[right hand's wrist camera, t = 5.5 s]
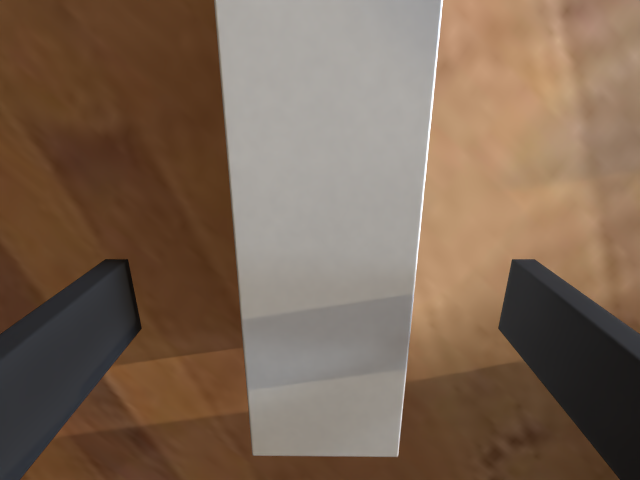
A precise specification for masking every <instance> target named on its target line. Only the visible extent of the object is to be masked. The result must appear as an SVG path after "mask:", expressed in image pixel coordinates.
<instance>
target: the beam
mask: <svg viewBox="0 0 640 480" xmlns="http://www.w3.org/2000/svg"><path fill="white" fill-rule="evenodd" d="M442 4H443V0H214V5H215V17H216V29H217V41H218V53H219V65H220V76H221V88H222V100H223V112H224V124H225V135H226V147H227V159H228V171H229V183H230V195H231V206H232V218H233V230H234V242H235V254H236V266H237V277H238V289H239V301H240V313H241V325H242V337H243V348H244V360H245V372H246V384H247V396H248V407H249V419H250V431H251V443H252V454H253V455H254V456H351V457H398V452H399V442H400V431H401V421H402V411H403V401H404V391H405V381H406V370H407V360H408V350H409V340H410V330H411V319H412V309H413V299H414V289H415V279H416V268H417V258H418V248H419V238H420V228H421V218H422V207H423V197H424V187H425V177H426V167H427V156H428V146H429V136H430V126H431V116H432V105H433V95H434V85H435V75H436V65H437V55H438V44H439V34H440V24H441V14H442Z"/></svg>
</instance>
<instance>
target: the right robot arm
mask: <svg viewBox="0 0 640 480" xmlns="http://www.w3.org/2000/svg"><path fill="white" fill-rule="evenodd" d="M141 329H142V328H141V323H140V318H139V313H138V308H137V303H136V298H135V293H134V288H133V283H132V278H131V273H130V268H129V263H128V259H105V260H104V261H103V262H101V263H100V264H98V265H97V266H96V267H94V268H93V269H91V270H90V271H88V272H87V273H86V274H84V275H83V276H81V277H80V278H79V279H77V280H76V281H74V282H73V283H72V284H70V285H69V286H67V287H66V288H65V289H63V290H62V291H60V292H59V293H58V294H56V295H55V296H53V297H52V298H51V299H49V300H48V301H46V302H45V303H43V304H42V305H41V306H39V307H38V308H36V309H35V310H34V311H32V312H31V313H29V314H28V315H27V316H25V317H24V318H22V319H21V320H20V321H18V322H17V323H15V324H14V325H13V326H11V327H10V328H8V329H7V330H6V331H4V332H3V333H1V334H0V480H20V479H21V478H22V476H23V475H24V474H25V473H26V471H27V470H28V469H29V468H30V466H31V465H32V464H33V463H34V461H35V460H36V459H37V458H38V456H39V455H40V454H41V453H42V451H43V450H44V449H45V448H46V447H47V445H48V444H49V443H50V442H51V440H52V439H53V438H54V437H55V435H56V434H57V433H58V432H59V430H60V429H61V428H62V427H63V425H64V424H65V423H66V422H67V420H68V419H69V418H70V417H71V415H72V414H73V413H74V412H75V411H76V409H77V408H78V407H79V406H80V404H81V403H82V402H83V401H84V399H85V398H86V397H87V396H88V394H89V393H90V392H91V391H92V389H93V388H94V387H95V386H96V384H97V383H98V382H99V381H100V379H101V378H102V377H103V376H104V374H105V373H106V372H107V371H108V370H109V368H110V367H111V366H112V365H113V363H114V362H115V361H116V360H117V358H118V357H119V356H120V355H121V353H122V352H123V351H124V350H125V348H126V347H127V346H128V345H129V343H130V342H131V341H132V340H133V338H134V337H135V336H136V335H137V333H138V332H139V331H140V330H141ZM498 329H499V330H500V331H501V332H502V333H503V335H504V336H505V337H506V338H507V340H508V341H509V342H510V343H511V345H512V346H513V347H514V348H515V350H516V351H517V352H518V353H519V355H520V356H521V357H522V358H523V360H524V361H525V362H526V363H527V365H528V366H529V367H530V368H531V370H532V371H533V372H534V373H535V374H536V376H537V377H538V378H539V379H540V381H541V382H542V383H543V384H544V386H545V387H546V388H547V389H548V391H549V392H550V393H551V394H552V396H553V397H554V398H555V399H556V401H557V402H558V403H559V404H560V406H561V407H562V408H563V409H564V411H565V412H566V413H567V414H568V415H569V417H570V418H571V419H572V420H573V422H574V423H575V424H576V425H577V427H578V428H579V429H580V430H581V432H582V433H583V434H584V435H585V437H586V438H587V439H588V440H589V442H590V443H591V444H592V445H593V447H594V448H595V449H596V450H597V451H598V453H599V454H600V455H601V456H602V458H603V459H604V460H605V461H606V463H607V464H608V465H609V466H610V468H611V469H612V470H613V471H614V473H615V474H616V475H617V476H618V478H619V479H620V480H640V334H639V333H637V332H636V331H634V330H633V329H632V328H630V327H629V326H627V325H626V324H625V323H623V322H622V321H620V320H619V319H618V318H616V317H615V316H613V315H612V314H611V313H609V312H608V311H606V310H605V309H604V308H602V307H601V306H599V305H598V304H597V303H595V302H594V301H592V300H591V299H589V298H588V297H587V296H585V295H584V294H582V293H581V292H580V291H578V290H577V289H575V288H574V287H573V286H571V285H570V284H568V283H567V282H566V281H564V280H563V279H561V278H560V277H559V276H557V275H556V274H554V273H553V272H552V271H550V270H549V269H547V268H546V267H544V266H543V265H542V264H540V263H539V262H537V261H536V260H535V259H512V263H511V268H510V273H509V278H508V283H507V288H506V293H505V298H504V303H503V308H502V313H501V318H500V323H499V328H498Z"/></svg>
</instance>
